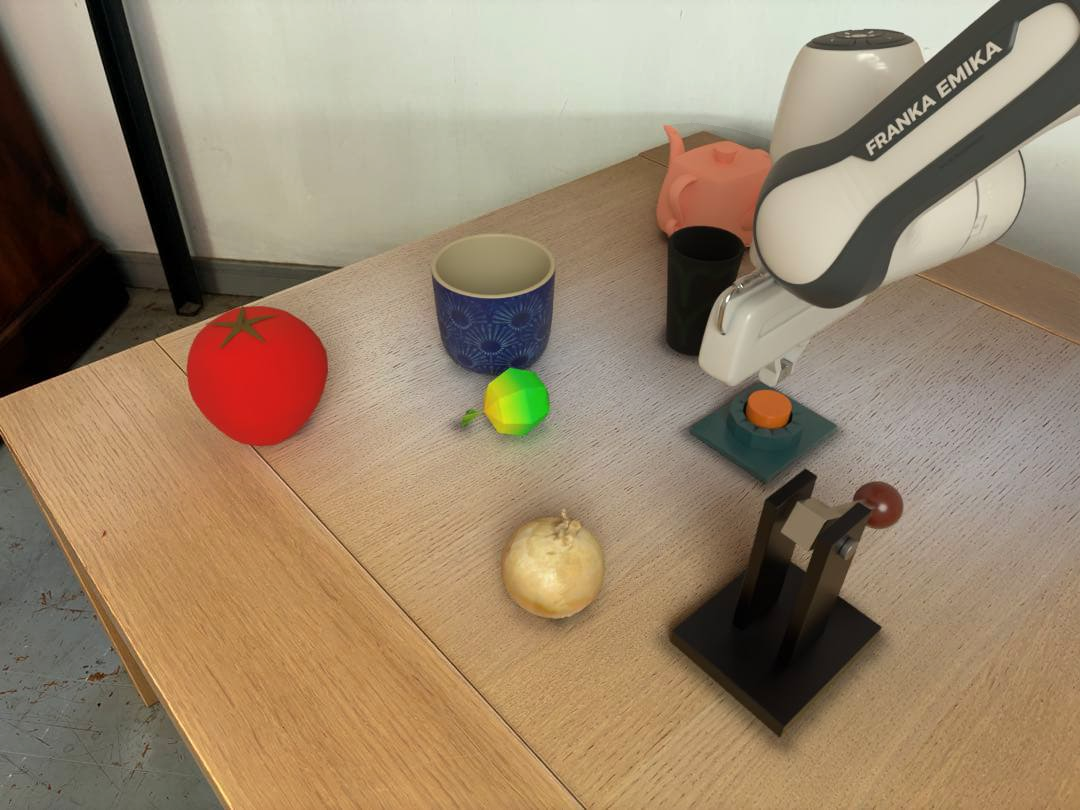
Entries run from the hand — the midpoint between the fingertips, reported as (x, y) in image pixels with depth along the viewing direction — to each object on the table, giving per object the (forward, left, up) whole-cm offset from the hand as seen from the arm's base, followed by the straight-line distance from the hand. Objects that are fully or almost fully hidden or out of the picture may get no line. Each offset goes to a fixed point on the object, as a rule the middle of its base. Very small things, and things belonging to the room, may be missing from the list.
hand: (774, 377), depth 75 cm
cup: (+10, -12, -7) cm, 17 cm away
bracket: (-5, +23, -7) cm, 24 cm away
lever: (-7, +19, +2) cm, 20 cm away
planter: (+29, -2, -7) cm, 30 cm away
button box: (0, 0, -7) cm, 7 cm away
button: (0, 0, -4) cm, 5 cm away
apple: (+23, +9, -7) cm, 26 cm away
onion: (+12, +25, -7) cm, 29 cm away
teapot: (+13, -35, -7) cm, 38 cm away
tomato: (+44, +17, -7) cm, 48 cm away
